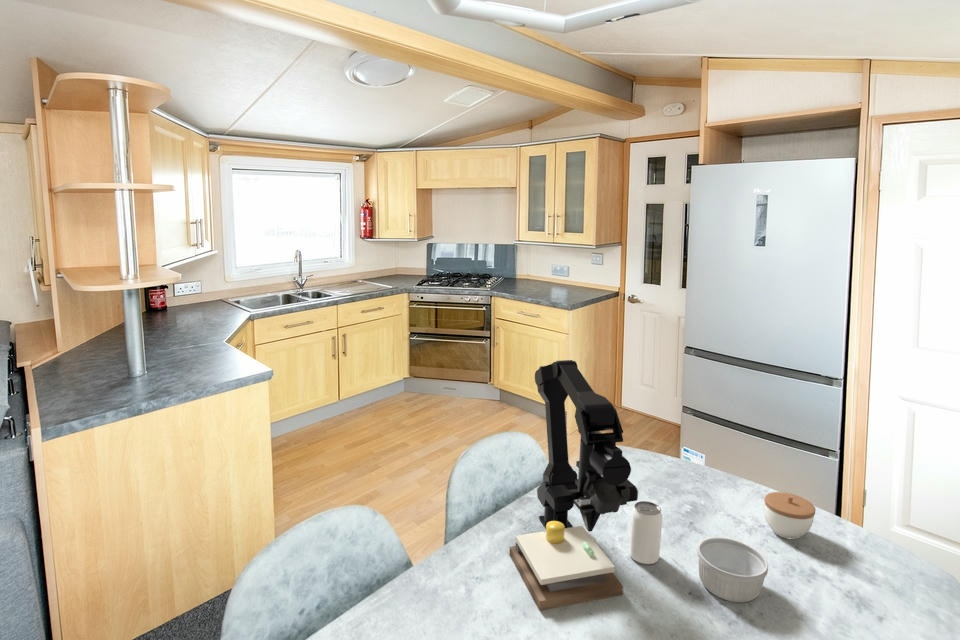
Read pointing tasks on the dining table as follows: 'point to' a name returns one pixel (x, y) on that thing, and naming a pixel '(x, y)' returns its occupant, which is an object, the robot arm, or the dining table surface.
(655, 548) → the can
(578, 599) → the walnut base
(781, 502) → the lidded jar
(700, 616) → the dining table surface
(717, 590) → the ramekin
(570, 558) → the plate
